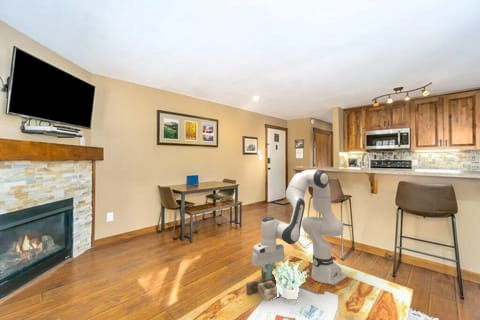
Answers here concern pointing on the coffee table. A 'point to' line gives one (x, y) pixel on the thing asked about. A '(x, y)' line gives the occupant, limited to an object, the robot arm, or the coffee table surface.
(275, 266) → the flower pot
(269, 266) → the dowel
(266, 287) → the block
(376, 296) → the coffee table surface
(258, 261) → the robot arm
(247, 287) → the wall
